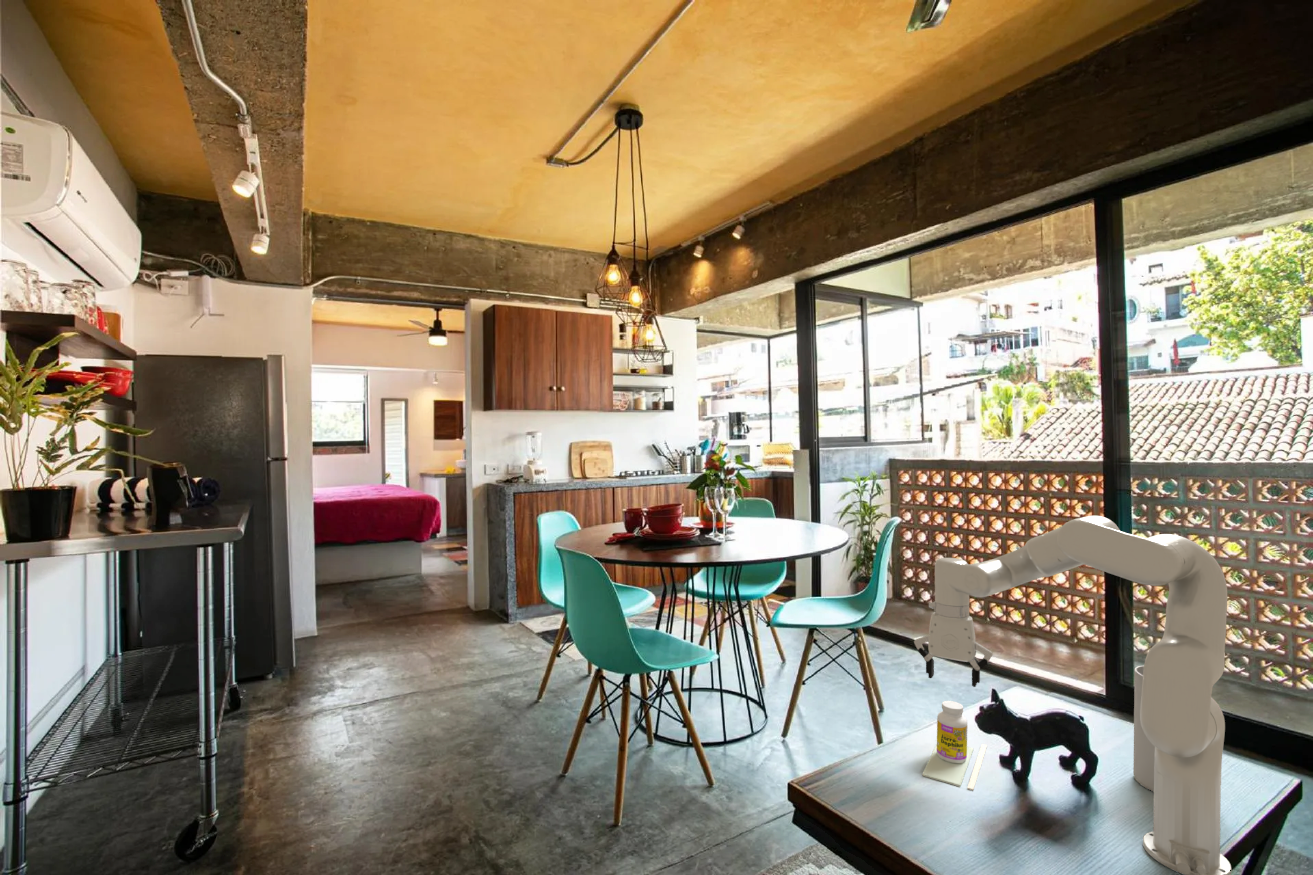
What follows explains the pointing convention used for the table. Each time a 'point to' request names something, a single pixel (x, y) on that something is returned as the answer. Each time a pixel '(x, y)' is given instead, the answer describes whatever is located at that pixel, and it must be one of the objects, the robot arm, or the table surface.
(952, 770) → the mat
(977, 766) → the beige wooden stick
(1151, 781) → the cylinder vase
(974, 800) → the table surface
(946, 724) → the supplement bottle
